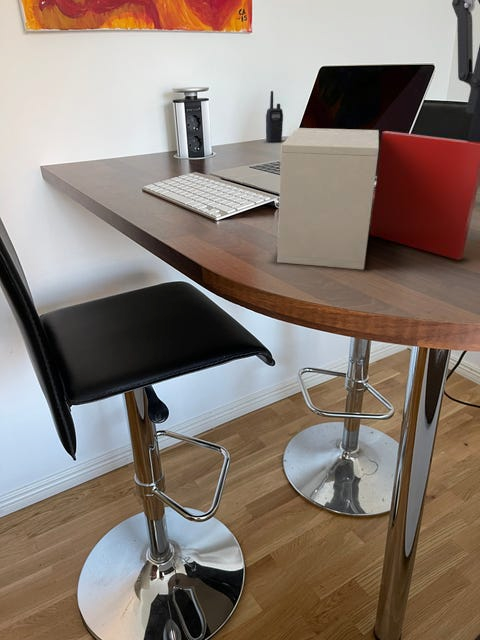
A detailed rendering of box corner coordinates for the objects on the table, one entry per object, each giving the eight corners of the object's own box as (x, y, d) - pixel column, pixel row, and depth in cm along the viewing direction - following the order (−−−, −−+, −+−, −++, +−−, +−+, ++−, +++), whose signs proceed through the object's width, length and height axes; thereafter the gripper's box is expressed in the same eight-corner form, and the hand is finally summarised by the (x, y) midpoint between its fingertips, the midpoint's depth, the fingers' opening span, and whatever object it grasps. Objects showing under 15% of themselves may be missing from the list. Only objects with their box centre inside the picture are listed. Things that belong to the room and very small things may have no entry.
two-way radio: (267, 142, 158) (268, 91, 151) (263, 140, 162) (263, 90, 155) (283, 142, 160) (285, 90, 152) (279, 139, 163) (280, 89, 156)
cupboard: (366, 234, 81) (378, 130, 73) (363, 269, 68) (378, 147, 60) (292, 229, 83) (297, 127, 76) (277, 262, 71) (281, 144, 63)
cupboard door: (393, 225, 84) (408, 127, 77) (481, 248, 75) (507, 138, 67) (369, 234, 80) (382, 131, 73) (458, 260, 70) (483, 144, 63)
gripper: (458, -77, 58) (418, 138, 68) (589, -93, 51) (523, 148, 61) (475, -63, 63) (436, 134, 74) (595, -76, 56) (533, 143, 67)
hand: (475, 140), depth 68 cm, fingers closed
